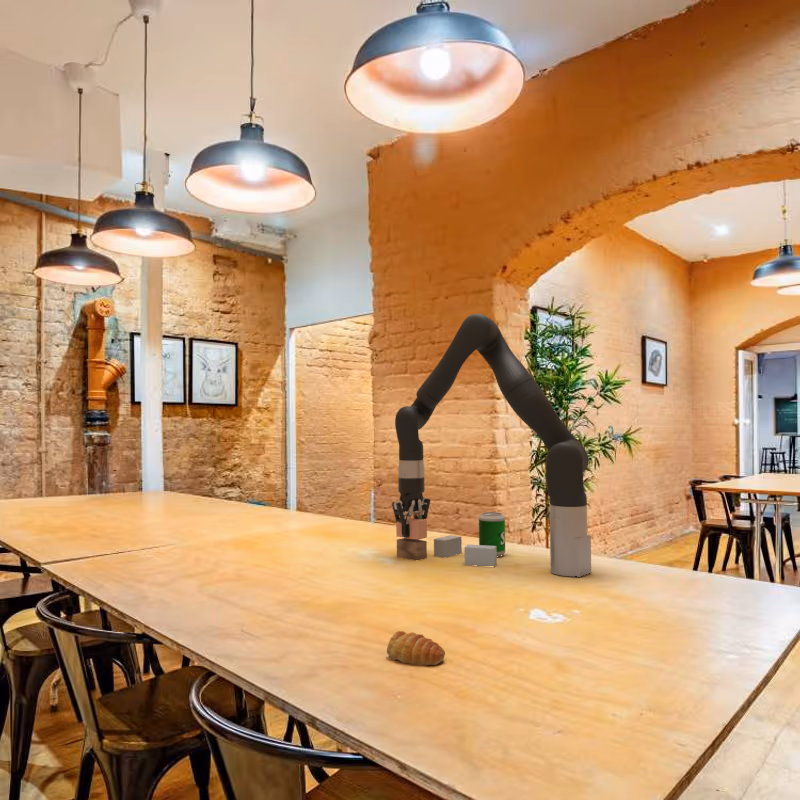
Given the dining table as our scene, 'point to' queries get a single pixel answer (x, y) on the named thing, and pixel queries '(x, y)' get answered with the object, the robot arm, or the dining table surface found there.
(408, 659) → the pastry
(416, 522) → the terracotta brick
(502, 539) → the soda can
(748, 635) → the dining table surface
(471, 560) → the blue-grey brick
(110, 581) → the dining table surface
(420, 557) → the walnut brick
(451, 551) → the slate brick
